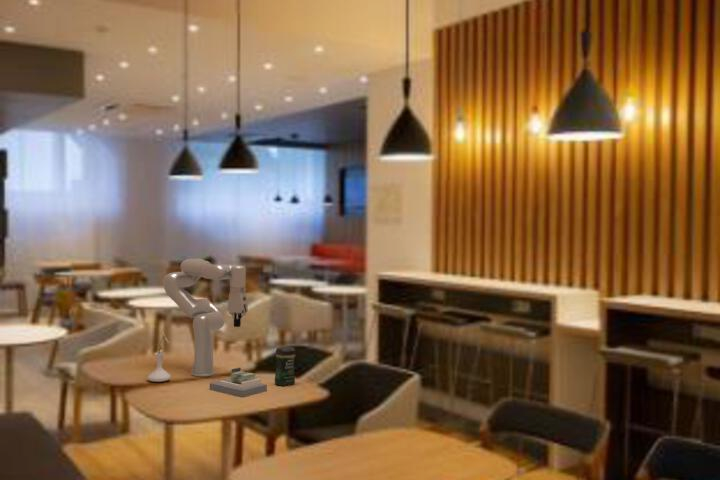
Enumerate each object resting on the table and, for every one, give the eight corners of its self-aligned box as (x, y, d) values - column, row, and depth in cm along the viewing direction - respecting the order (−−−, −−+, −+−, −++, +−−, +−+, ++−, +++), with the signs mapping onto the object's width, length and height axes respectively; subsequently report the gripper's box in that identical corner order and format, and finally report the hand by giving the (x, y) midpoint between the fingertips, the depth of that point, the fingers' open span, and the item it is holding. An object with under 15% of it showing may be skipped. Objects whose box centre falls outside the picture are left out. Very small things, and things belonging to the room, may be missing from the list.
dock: (209, 389, 346) (209, 376, 346) (234, 383, 359) (234, 371, 359) (242, 397, 333) (242, 384, 333) (266, 390, 346) (267, 378, 346)
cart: (230, 384, 345) (230, 369, 345) (239, 382, 350) (240, 367, 349) (245, 387, 339) (245, 372, 339) (254, 385, 344) (255, 370, 343)
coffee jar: (280, 387, 354) (281, 349, 354) (272, 383, 361) (273, 346, 360) (297, 384, 361) (298, 347, 360) (288, 381, 367) (289, 344, 366)
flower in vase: (167, 383, 355) (168, 332, 355) (144, 383, 356) (144, 332, 355) (174, 377, 368) (175, 328, 368) (152, 377, 369) (153, 328, 368)
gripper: (253, 290, 364) (253, 327, 365) (232, 288, 373) (232, 324, 373) (242, 291, 358) (242, 329, 358) (221, 289, 367) (221, 325, 367)
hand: (237, 326), depth 366 cm, fingers closed
